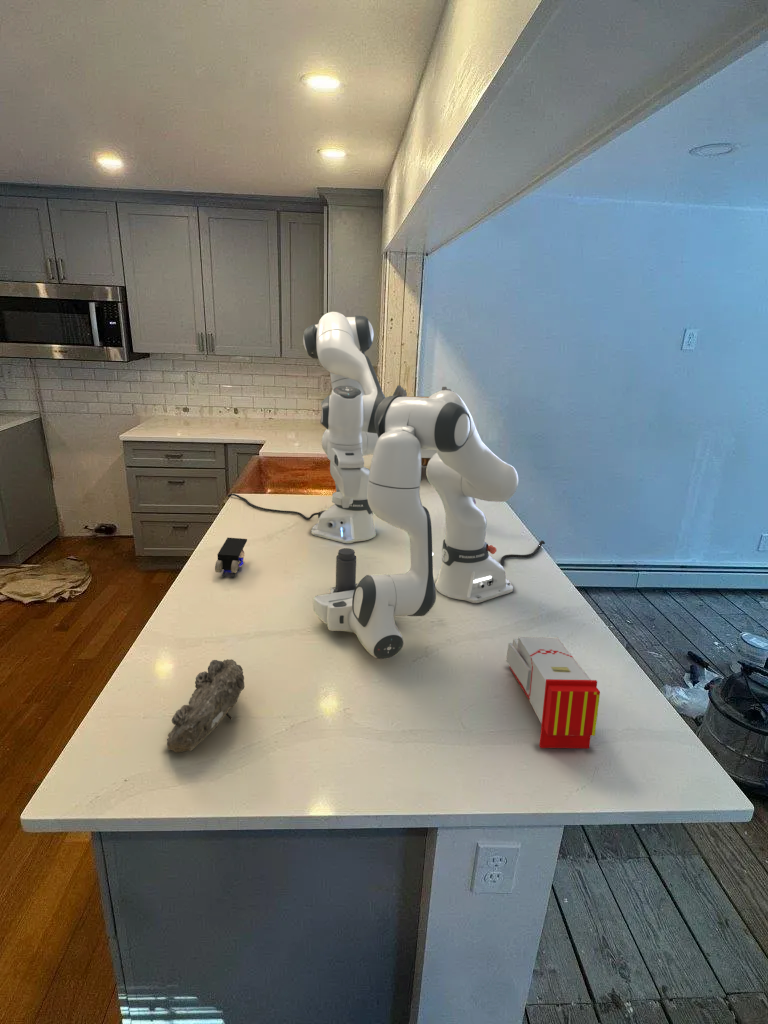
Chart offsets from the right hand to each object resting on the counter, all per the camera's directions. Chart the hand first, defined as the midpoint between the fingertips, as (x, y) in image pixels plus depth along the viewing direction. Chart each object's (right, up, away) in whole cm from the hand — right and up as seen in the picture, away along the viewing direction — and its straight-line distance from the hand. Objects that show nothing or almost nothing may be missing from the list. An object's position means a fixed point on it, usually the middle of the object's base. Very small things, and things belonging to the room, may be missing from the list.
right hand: (344, 587), depth 148 cm
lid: (0, +24, +1) cm, 24 cm away
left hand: (-1, +22, +2) cm, 23 cm away
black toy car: (-34, +3, +19) cm, 40 cm away
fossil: (-22, -19, -40) cm, 50 cm away
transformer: (+28, +39, +127) cm, 135 cm away
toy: (+43, -19, -32) cm, 57 cm away
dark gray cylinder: (0, -5, +1) cm, 5 cm away
